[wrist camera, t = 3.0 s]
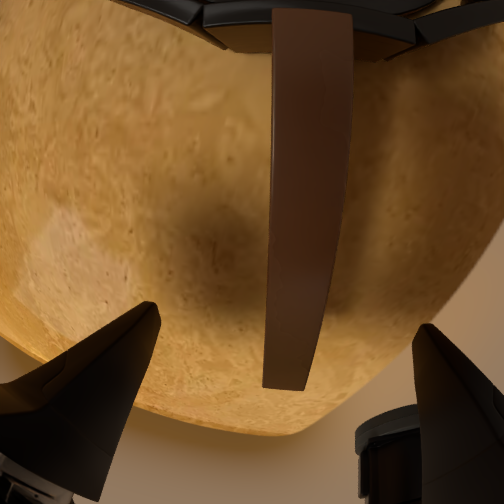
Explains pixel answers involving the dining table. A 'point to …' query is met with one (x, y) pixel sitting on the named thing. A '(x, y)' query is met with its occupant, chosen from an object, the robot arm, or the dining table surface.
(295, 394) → the dining table surface
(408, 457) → the robot arm
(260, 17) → the frying pan
